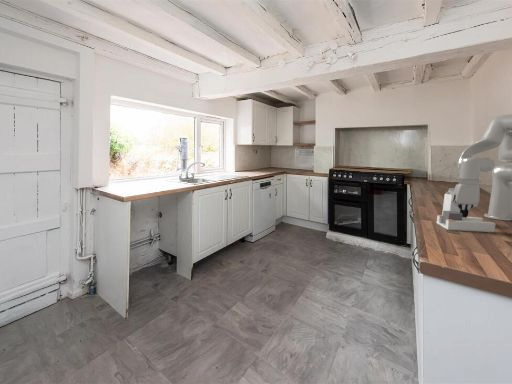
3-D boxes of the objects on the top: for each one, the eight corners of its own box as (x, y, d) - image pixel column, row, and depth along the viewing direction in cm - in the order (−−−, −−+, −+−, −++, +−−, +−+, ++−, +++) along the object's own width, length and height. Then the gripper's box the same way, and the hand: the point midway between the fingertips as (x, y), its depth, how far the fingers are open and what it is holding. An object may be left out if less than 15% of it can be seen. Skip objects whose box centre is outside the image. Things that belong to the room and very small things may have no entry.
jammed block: (454, 223, 129) (456, 211, 128) (461, 226, 123) (462, 213, 122) (441, 222, 130) (443, 210, 129) (447, 225, 125) (449, 213, 123)
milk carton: (462, 222, 134) (467, 189, 131) (448, 222, 135) (452, 189, 132) (455, 219, 141) (459, 187, 137) (441, 218, 142) (445, 187, 139)
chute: (478, 225, 129) (479, 216, 128) (494, 232, 118) (496, 222, 117) (436, 223, 134) (437, 214, 133) (448, 229, 122) (449, 220, 121)
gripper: (480, 181, 124) (475, 215, 127) (447, 181, 127) (443, 214, 130) (490, 183, 116) (485, 219, 119) (455, 182, 120) (451, 218, 123)
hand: (463, 216), depth 125 cm, fingers closed
